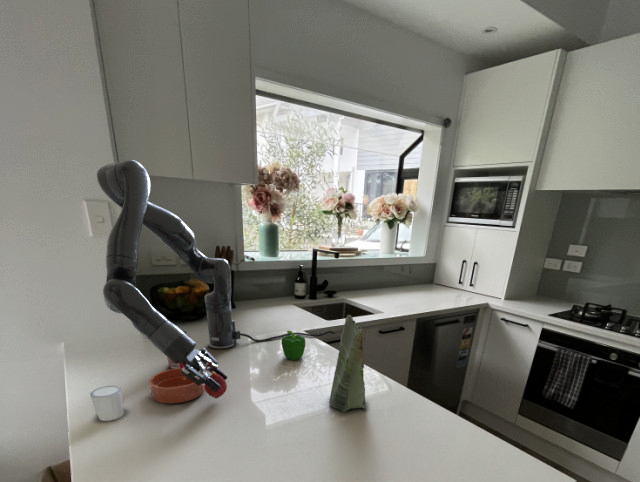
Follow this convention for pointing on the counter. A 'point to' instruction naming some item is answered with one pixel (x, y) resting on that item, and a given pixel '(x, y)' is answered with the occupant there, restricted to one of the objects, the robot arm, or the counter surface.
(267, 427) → the counter surface
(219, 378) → the onion
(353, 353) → the pouch
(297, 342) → the bell pepper
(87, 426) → the counter surface
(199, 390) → the bowl
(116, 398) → the white cup
